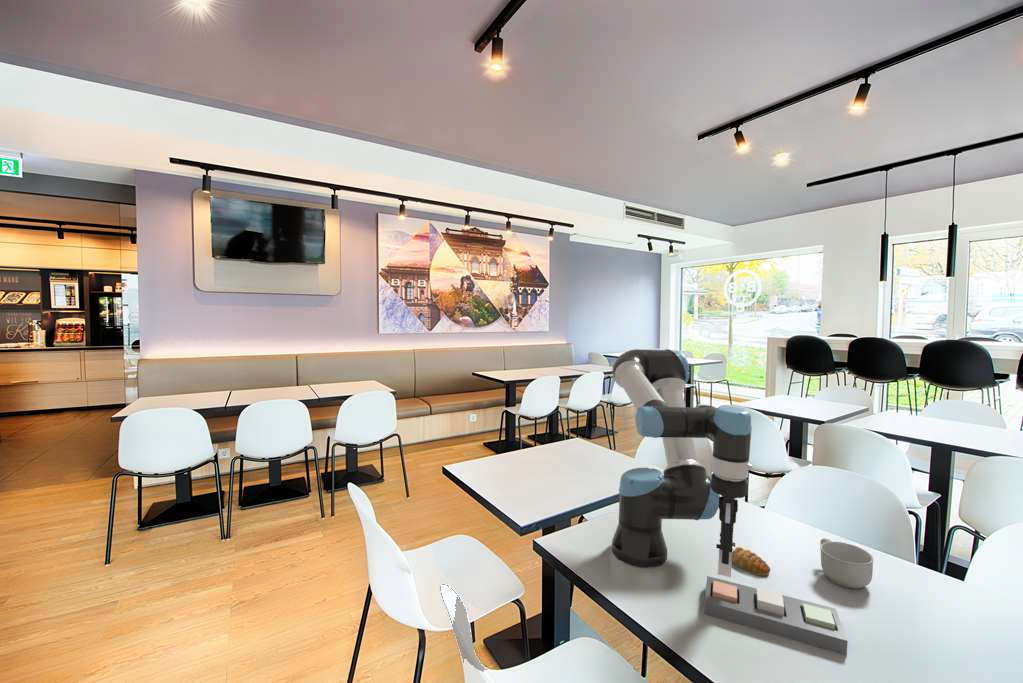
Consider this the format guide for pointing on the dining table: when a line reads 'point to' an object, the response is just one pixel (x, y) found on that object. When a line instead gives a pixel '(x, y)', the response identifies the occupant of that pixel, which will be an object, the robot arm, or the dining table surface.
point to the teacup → (846, 563)
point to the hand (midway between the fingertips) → (724, 574)
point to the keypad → (775, 618)
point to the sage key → (818, 616)
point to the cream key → (770, 601)
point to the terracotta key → (725, 591)
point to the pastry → (749, 562)
